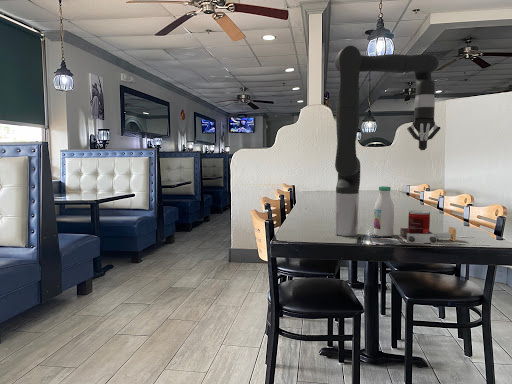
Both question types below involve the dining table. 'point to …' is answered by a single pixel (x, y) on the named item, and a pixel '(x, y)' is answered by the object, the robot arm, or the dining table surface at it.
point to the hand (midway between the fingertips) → (422, 150)
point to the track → (442, 243)
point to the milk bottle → (384, 213)
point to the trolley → (428, 235)
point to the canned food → (419, 221)
